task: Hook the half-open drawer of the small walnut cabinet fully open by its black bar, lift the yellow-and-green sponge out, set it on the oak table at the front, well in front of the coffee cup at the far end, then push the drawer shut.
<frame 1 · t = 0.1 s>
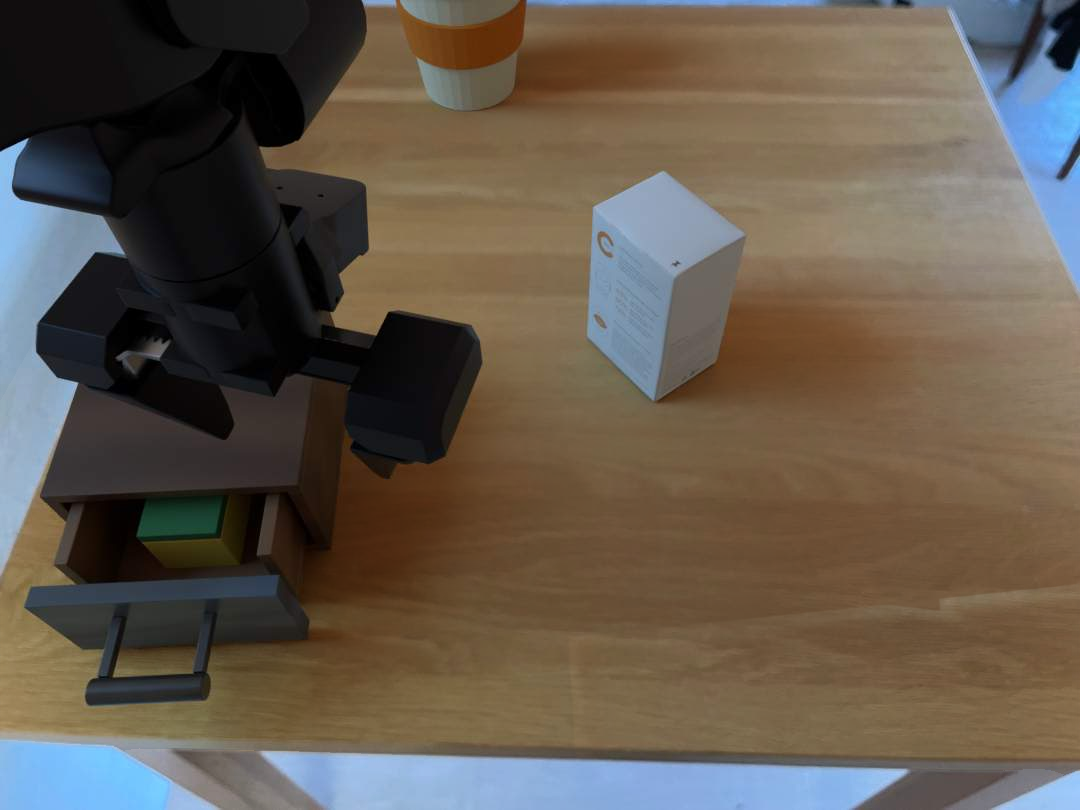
hand: (307, 451, 43), 13 cm above the table, tool pointing down, fingers open, 9 cm apart
drawer: (189, 552, 50), point 4 cm above the table, slide at 5.0 cm, touching sponge
cabinet: (237, 459, 58), on the table
reusable coffee cup: (470, 85, 84), on the table
sponge: (213, 516, 54), point 2 cm above the table, touching drawer
small box: (650, 351, 64), on the table
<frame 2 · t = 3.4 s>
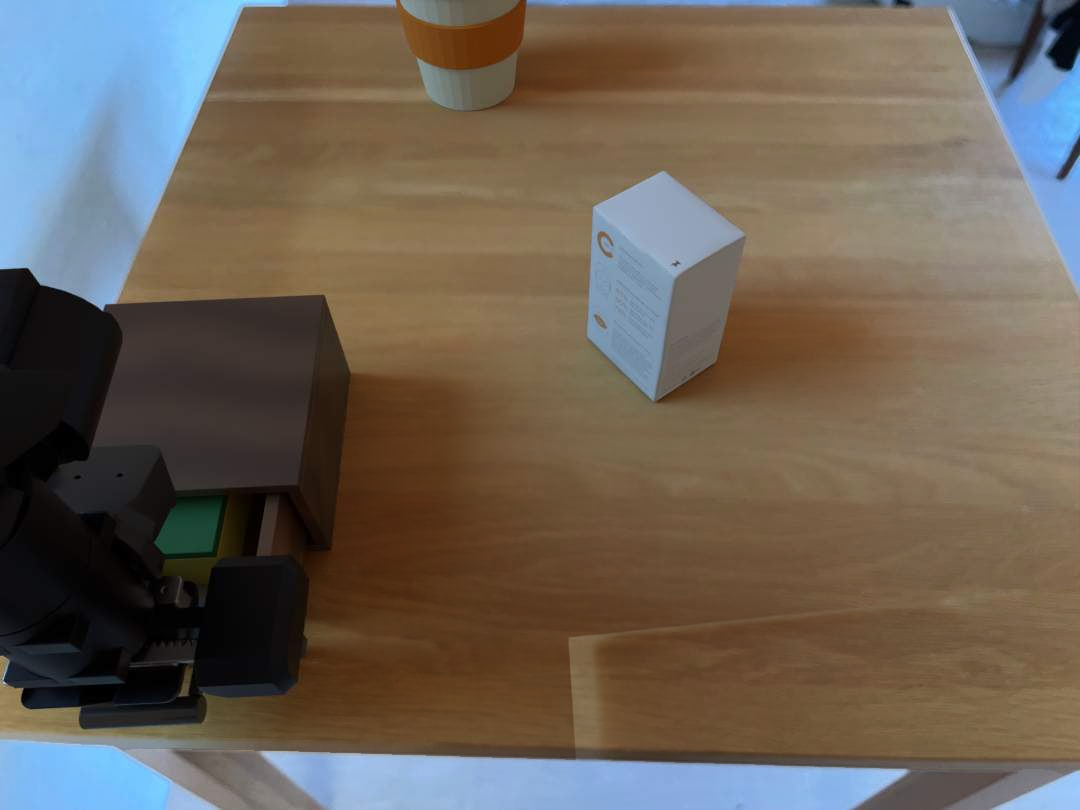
hand: (167, 685, 46), 4 cm above the table, tool pointing down, fingers closed, pressing on drawer
drawer: (185, 571, 49), point 4 cm above the table, slide at 6.2 cm, touching gripper
sponge: (210, 533, 53), point 2 cm above the table
everything else where it was.
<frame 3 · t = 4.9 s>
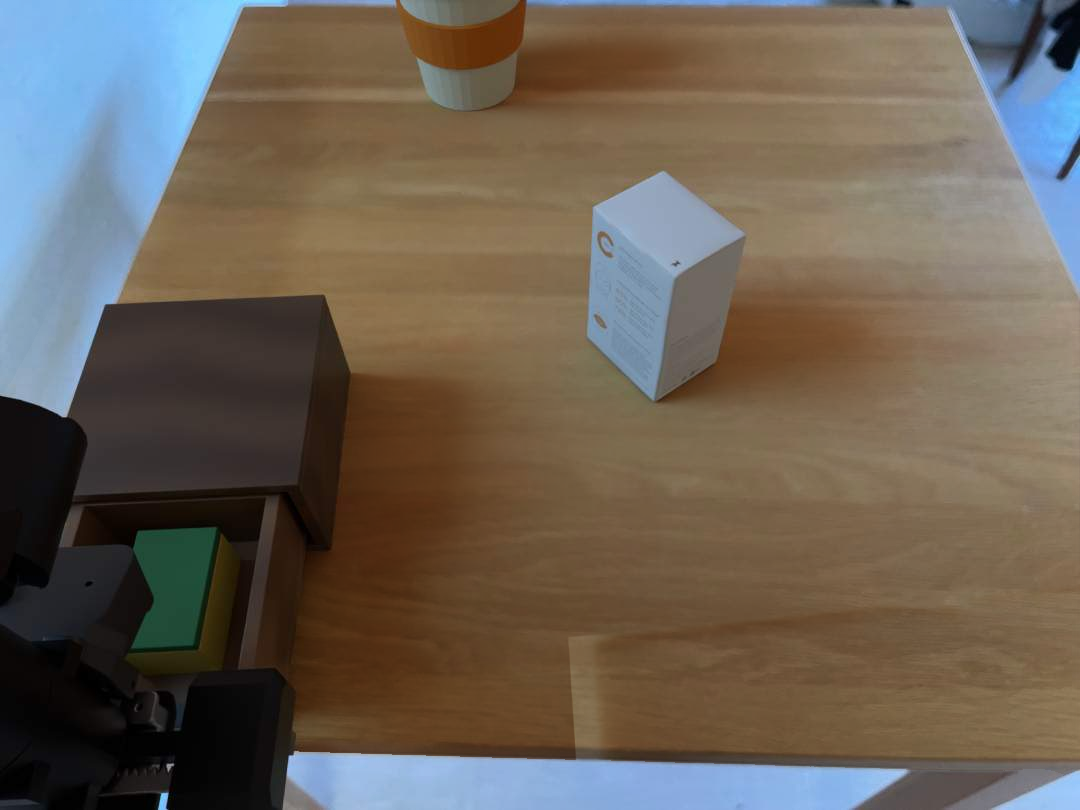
hand: (145, 790, 43), 3 cm above the table, tool pointing down, fingers closed, pressing on drawer
drawer: (165, 662, 46), point 4 cm above the table, slide at 11.6 cm, touching gripper, sponge
sponge: (193, 615, 50), point 2 cm above the table, touching drawer
everything else where it was.
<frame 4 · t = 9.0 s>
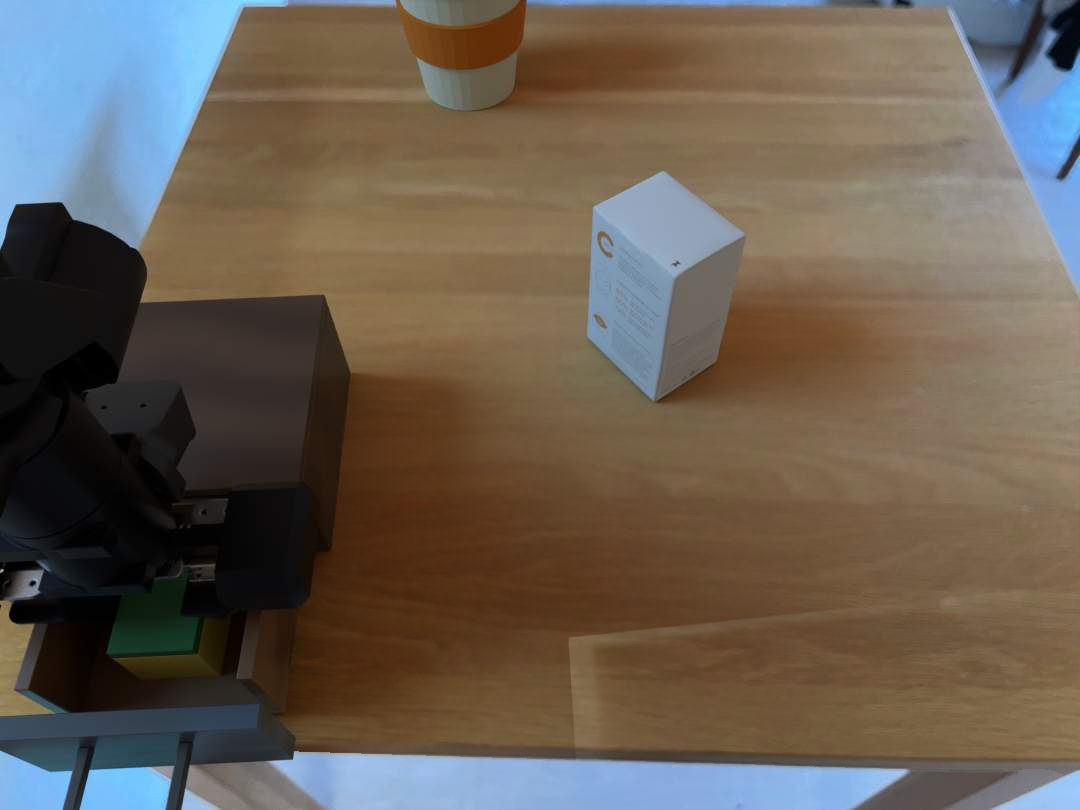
hand: (185, 611, 49), 3 cm above the table, tool pointing down, fingers closed on sponge, 4 cm apart
drawer: (164, 666, 46), point 4 cm above the table, slide at 11.8 cm, touching sponge
sponge: (192, 619, 50), point 2 cm above the table, touching drawer, gripper
everything else where it was.
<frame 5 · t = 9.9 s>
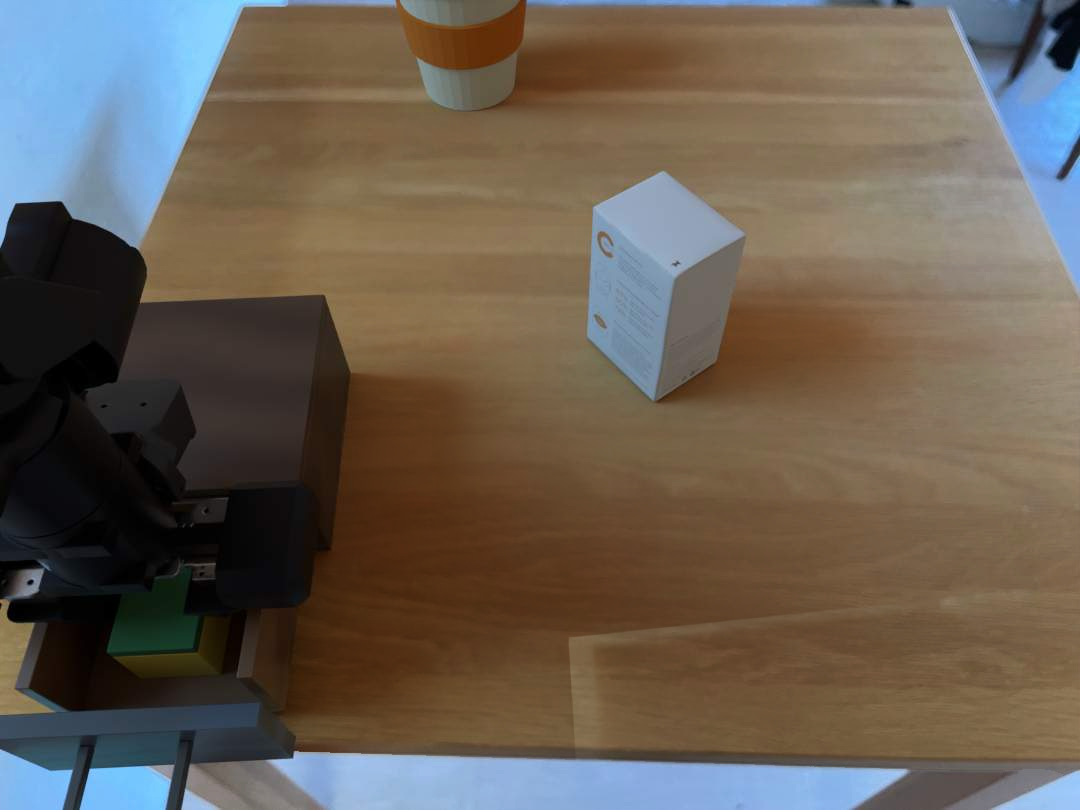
hand: (186, 610, 49), 3 cm above the table, tool pointing down, fingers closed on sponge, 4 cm apart
sponge: (193, 618, 50), point 2 cm above the table, touching drawer, gripper
everything else where it was.
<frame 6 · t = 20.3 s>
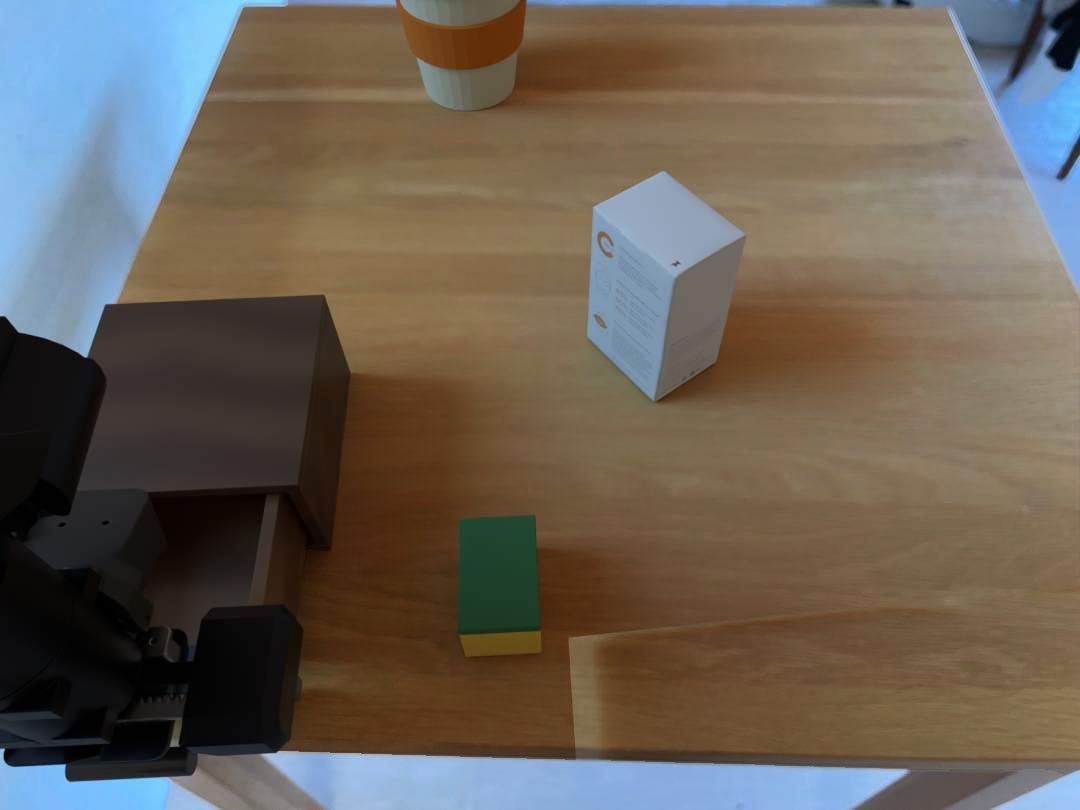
hand: (157, 731, 45), 4 cm above the table, tool pointing down, fingers closed, pressing on drawer
drawer: (176, 611, 48), point 4 cm above the table, slide at 8.6 cm, touching gripper
sponge: (502, 599, 52), on the table
everything else where it was.
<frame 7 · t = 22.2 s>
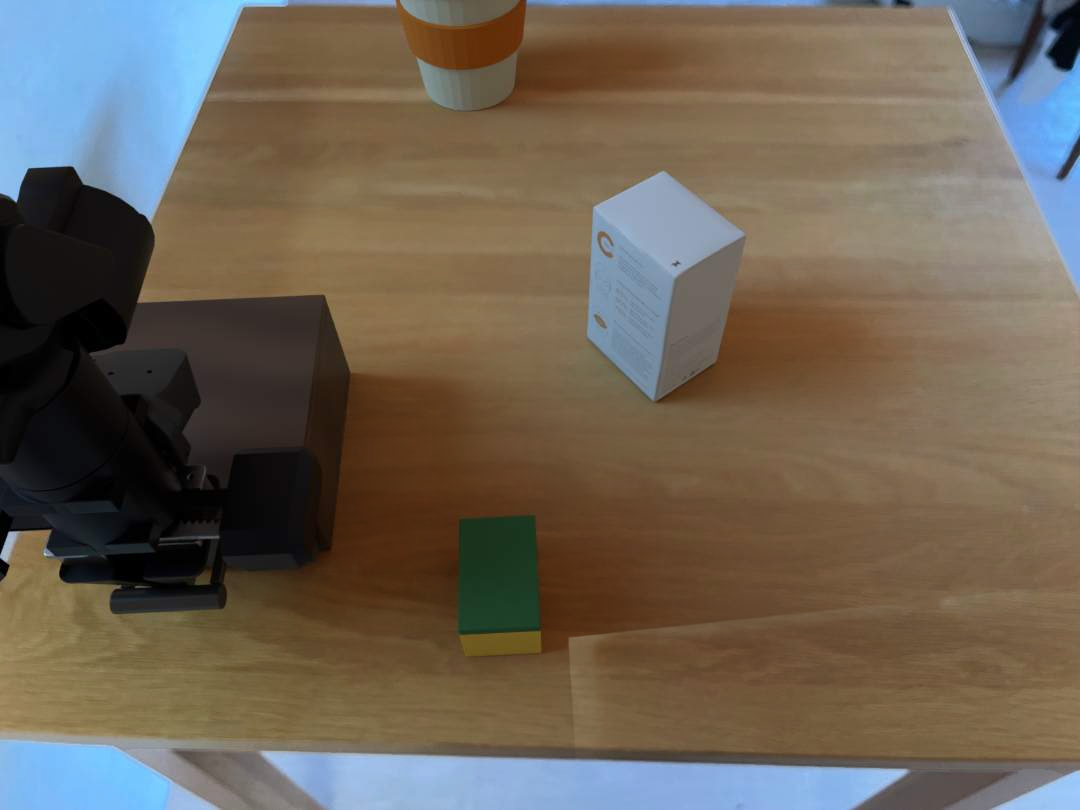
hand: (189, 580, 49), 4 cm above the table, tool pointing down, fingers closed, pressing on drawer
drawer: (205, 479, 53), point 4 cm above the table, slide at 0.0 cm, touching cabinet, gripper
everything else where it was.
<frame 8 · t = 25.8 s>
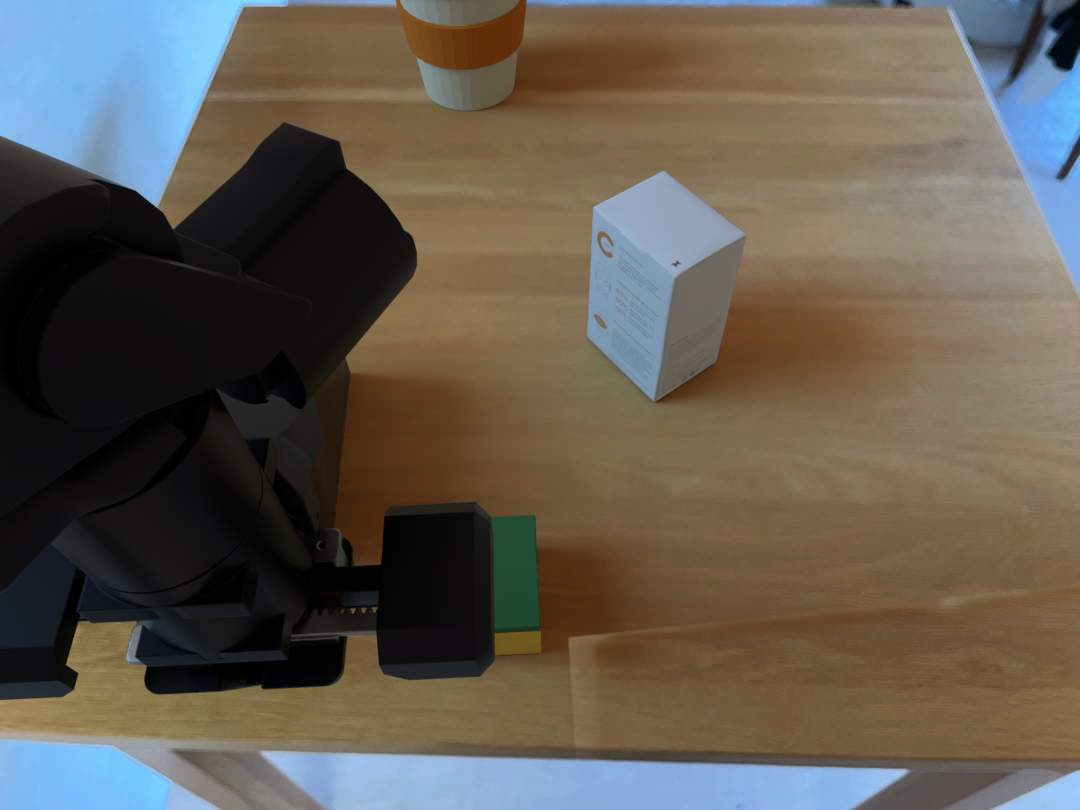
hand: (298, 667, 38), 12 cm above the table, tool pointing down, fingers closed
drawer: (205, 479, 53), point 4 cm above the table, slide at 0.0 cm, touching cabinet
everything else where it was.
at the end: drawer slide at 0.0 cm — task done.
